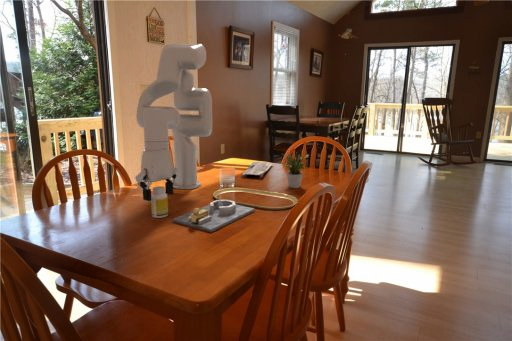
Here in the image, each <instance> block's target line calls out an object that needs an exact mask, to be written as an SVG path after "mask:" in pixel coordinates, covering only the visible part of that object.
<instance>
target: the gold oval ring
mask: <svg viewBox="0 0 512 341" xmlns="http://www.w3.org/2000/svg"><path fill="white" fill-rule="evenodd" d="M230 192H242V193H243V192H244V193H249V194H256V195H262V196H263V195H264V196H269V197H275V198H276V197H277V198H282V199H288V200H290V201H291V202H292V203H293V204H291V205H286V206H263V205H259V204H258V205H257V204H254V203H253V204H251V203H246V202H240V201H234V200H233V201H234V202H235V204H236V205H241V206H245V207H250V208H256V209H257V208H258V209H264V210H273V211H274V210H278V211H279V210H286V209H291V208H293V207H295V206H296V205H297V204H298V202H297V201H298V198H297V197H295V196H294V195H290V194H286V193H282V192H281V193H279V192H275V191H269V190H267V191H266V190H260V189H253V188H247V187H246V188H245V187H228V188H227V187H226V188H222V189H218V190H216V191H214V192H213V193H212V196H213V197H214V198H215V199H216V200H224V199H222V198H220V197H218V196H219V195H221V194H225V193H230ZM296 203H297V204H296ZM295 204H296V205H295ZM294 205H295V206H294Z"/></svg>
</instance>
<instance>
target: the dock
mask: <svg viewBox="0 0 512 341" xmlns="http://www.w3.org/2000/svg"><path fill="white" fill-rule="evenodd" d="M235 202H236V201H235ZM235 202H234V200H230V199H223V200H217V199H216V200H214V201H211V202H210V203H209V204H208V205H206V206H205V205H204V206H203V207H200V208H199V211H200V210H203V209H205V210H208V216H207V217H204V218H202V219H200V220H199V222H196V223H195V222H191V214H193V213H194V212H193V210H192V211H190V212H187V213H184V214H182V215H179V216H177V217H175V218H172V223H175V224H180V225H183V226H186V227H190V228H193V229H198V230H200V231H204V232H207V233H213V232H215V231H217V230H220V229H221V228H223V227H225V226H227V225H229V224H231V223H234V222H236V221H238V220H239V219H241V218H244V217H245V216H248V215H250V214H252V213H254V212H256V211H255V210H256V209H255V208H256V207H251V206H245V205H239V204H235Z"/></svg>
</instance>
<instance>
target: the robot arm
mask: <svg viewBox="0 0 512 341" xmlns="http://www.w3.org/2000/svg"><path fill="white" fill-rule="evenodd" d="M206 61H207V50H206V47H205V46H204V45H203V44H202V43H168V44H165V45H164V46H163V47H162V50H161V52H160V57H159V62H158V68H157V73H156V77H155V78H156V79H155V80H154V81H153V82H151V83H150V84H149V85H148V86H147V87H146V88H145V89H144V90H143V91H142V92H141V94H140V95H139V99H138V103H137V108H136V122H137V124H138V127H140V128H142V129H143V138H144V139H143V141H144V150H143V151H142V154H141V160H140V172H139V173H138V174H137V175H136V176H134V177H135V178H134V179H135V181H136V183H137V185H138V186H139V187H140V189H142V199H143V201H147V202H151V195H152V189H151V188H150V187H151V186H152V183H157V182H161V181H166V182H165V183H164V187H165V192H164V193H166V194H167V195H171V196H172V195H174V189H177V190H191V189H196V188H199V187H201V184H202V183H201V182H200V181H199V180H198V167H197V166H198V164H197V162H198V161H197V156H198V155H197V154H198V153H197V146H196V143H195V142H194V140H193V139H192V138H193V137H200V138H202V137H203V138H204V137H205V138H207V137H209V136H211V135H212V133H213V100H212V98H213V97H212V94H211V92H210V90H209V89H207V88H205V87H204V88H203V87H201V88H200V87H196V88H195V86H194V84H195V83H194V75H193V73H192V72H191V71H196V70H199V69H200V68H202V67H203V66H204V65H205V64H206ZM170 94H173V103H174V104H173V105H174V107H173V106H160V105H159V106H157V105H156V106H154V105H153V106H152V104H153V103H154V102H155V101H157V100H158V99H161V98H162V97H165V96H168V95H170ZM178 110H179V111H182V112H200V114H194V113H186V114H185V113H180V112H179V111H178ZM169 130H171V132H172V138H173V150H174V166H173V161H172V155H171V150H170V148H169V147H170V145H171V144H170V143H171V142H170V141H169Z"/></svg>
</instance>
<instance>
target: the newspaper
mask: <svg viewBox="0 0 512 341" xmlns="http://www.w3.org/2000/svg"><path fill="white" fill-rule="evenodd" d="M272 165H273V163H271V162H268V161H252V162H251V163H250V165H249V166H248V167H247V168H246V170H245V171H243V173H242V174H241V176H240V178H247V177H248V176H249V175H254V176H258V178H259V179H261V178H263V177H264V174H265V173H266V172H267V171H268V170H269V169H270V168H271V167H272Z"/></svg>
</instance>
